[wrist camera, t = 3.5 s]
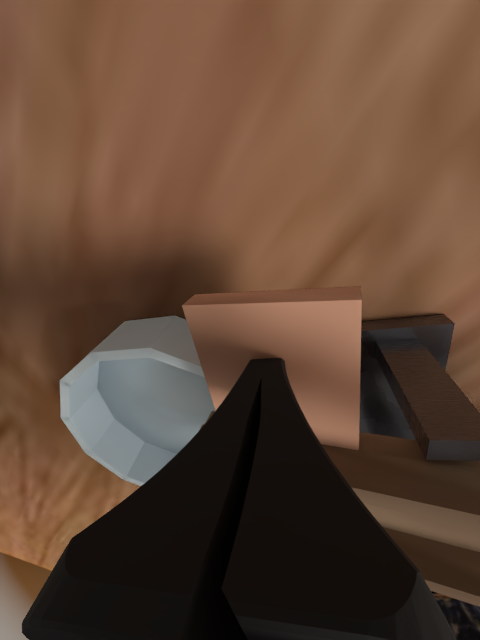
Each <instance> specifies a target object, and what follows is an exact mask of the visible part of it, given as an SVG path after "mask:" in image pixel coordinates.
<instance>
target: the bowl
mask: <svg viewBox="0 0 480 640" xmlns="http://www.w3.org/2000/svg"><path fill="white" fill-rule="evenodd" d="M60 407H61V419H62V420H63V422H64V423H65V425H66V426H67V428H68V429H69V430H70V432H71V433H72V435H73V436H74V438H75V439H76V440H77V442H78V443H79V445H80V446H81V448H82V449H83V450H84V452H85V453H86V454H87V455H89V456H90V457H92V458H93V459H94V460H96V461H97V462H99V463H100V464H102V465H103V466H104V467H106V468H107V469H109V470H110V471H112V472H113V473H114V474H116V475H117V476H119V477H120V478H122V479H123V480H125V481H128V482H131V483H134V484H137V485H139V486H142V485H143V484H144V483H146V482H147V481H148V480H149V479H150V478H151V477H153V476H154V475H155V474H156V473H157V472H158V471H160V470H161V469H162V468H163V467H164V466H165V465H166V464H167V463H168V462H169V461H170V460H171V459H172V458H173V457H174V456H175V455H176V454H177V453H178V452H179V451H180V450H181V449H182V448H183V447H184V446H185V445H186V444H187V443H188V442H189V441H190V440H191V439H192V438H193V437H194V436H195V435H196V434H197V433H198V431H199V430H200V428H201V426H202V424H205V422H206V421H207V419H208V417H209V415H210V413H211V411H216V410H215V407H214V404H213V401H212V398H211V395H210V392H209V389H208V386H207V382H206V379H205V376H204V373H203V370H202V367H201V364H200V361H199V358H198V354H197V351H196V348H195V345H194V342H193V339H192V336H191V333H190V329H189V326H188V323H187V320H186V319H183V318H180V317H178V316H166V317H157V318H148V319H139V320H130V321H124V322H123V323H122V324H121V325H120V326H119V327H118V328H117V329H115V330H114V331H113V332H112V333H111V334H110V335H109V336H108V337H106V338H105V339H104V340H103V341H102V342H101V343H100V344H99V345H98V346H96V347H95V348H94V349H93V350H92V351H91V352H90V353H89V354H88V355H87V356H86V357H85V358H84V359H83V360H82V361H81V362H79V363H78V364H77V365H76V366H75V367H74V368H73V369H72V370H71V371H70V372H68V373H67V374H66V375H65V376H64V377H63V378H62V379H61V380H60Z"/></svg>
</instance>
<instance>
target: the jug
mask: <svg viewBox="0 0 480 640" xmlns="http://www.w3.org/2000/svg"><path fill="white" fill-rule="evenodd" d="M433 596H434V597H435V599H436V601H437V603H438V605H439V606H440V608H441V610H442V612H443V614H444V616H445V618H446V619H447V621H448V623H449V625H450V627H451V629H452V631H453V633H454V635H455V638H456V640H480V607H479V606H476V605H473V604H470V603H467V602H464V601H461V600H457V599H454V598H451V597H448V596H445V595H442V594H439V593H433Z"/></svg>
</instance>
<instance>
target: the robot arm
mask: <svg viewBox="0 0 480 640" xmlns="http://www.w3.org/2000/svg"><path fill="white" fill-rule="evenodd" d="M22 633H23V634H24V635H25V636H26V638H28V639H29V640H456V638H455V635H454V633H453V631H452V629H451V627H450V625H449V623H448V621H447V619H446V618H445V616H444V614H443V612H442V610H441V608H440V606H439V605H438V603H437V601H436V599H435V597H434V596H433V594H432V592H431V591H430V589H429V587H428V585H427V584H426V582H425V580H424V578H423V577H422V575H421V573H420V571H419V570H418V568H417V567H416V566H415V565H414V563H413V562H412V561H411V560H410V559H409V558H408V557H407V555H406V554H405V553H404V552H403V551H402V550H401V548H400V547H399V546H398V545H397V544H396V543H395V541H394V540H393V539H392V538H391V537H390V535H389V534H388V533H387V532H386V531H385V530H384V528H383V527H382V526H381V525H380V524H379V522H378V521H377V520H376V519H375V517H374V516H373V515H372V514H371V512H370V511H369V510H368V509H367V507H366V506H365V505H364V504H363V502H362V501H361V500H360V498H359V497H358V496H357V495H356V493H355V492H354V491H353V489H352V488H351V486H350V485H349V484H348V482H347V481H346V480H345V478H344V477H343V475H342V474H341V473H340V471H339V470H338V469H337V467H336V466H335V465H334V463H333V462H332V460H331V459H330V457H329V456H328V454H327V453H326V451H325V450H324V448H323V447H322V445H321V443H320V442H319V440H318V438H317V437H316V435H315V434H314V432H313V430H312V428H311V427H310V425H309V423H308V421H307V419H306V418H305V416H304V414H303V412H302V410H301V408H300V406H299V404H298V402H297V399H296V397H295V395H294V392H293V390H292V388H291V385H290V382H289V379H288V376H287V373H286V366H285V360H283V359H282V358H266V359H251V360H250V361H249V362H248V364H247V365H246V367H245V369H244V370H243V372H242V374H241V375H240V377H239V378H238V380H237V382H236V383H235V385H234V386H233V388H232V389H231V390H230V392H229V393H228V395H227V396H226V398H225V399H224V400H223V402H222V403H221V404H220V406H219V407H218V408H217V410H216V411H215V412H214V413H213V415H212V416H211V417H210V419H209V420H208V421H207V422H206V423H205V425H204V426H203V427H202V428H201V429H200V430H199V432H198V433H197V434H196V435H195V436H194V437H193V438H192V439H191V440H190V441H189V442H188V443H187V444H186V445H185V446H184V447H183V448H182V449H181V450H180V451H179V452H178V453H177V454H176V455H175V456H174V457H173V458H172V459H171V460H170V461H169V462H168V463H167V464H166V465H165V466H164V467H163V468H162V469H161V470H160V471H158V472H157V473H156V474H155V475H154V476H153V477H151V478H150V479H149V480H148V481H147V482H146V483H144V484H143V485H142V486H141V487H140V488H138V489H137V490H136V491H135V492H134V493H132V494H131V495H130V496H129V497H127V498H126V499H125V500H124V501H122V502H121V503H120V504H118V505H117V506H116V507H114V508H113V509H112V510H110V511H109V512H108V513H106V514H105V515H103V516H102V517H101V518H99V519H98V520H97V521H95V522H94V523H93V524H91V525H90V526H88V527H87V528H86V529H84V530H83V531H82V532H80V533H79V534H77V535H76V536H74V537H73V538H72V539H71V541H70V542H69V544H68V545H67V547H66V549H65V550H64V552H63V554H62V555H61V557H60V559H59V560H58V562H57V564H56V565H55V567H54V569H53V570H52V572H51V574H50V576H49V577H48V579H47V581H46V582H45V584H44V586H43V588H42V589H41V591H40V593H39V594H38V596H37V598H36V600H35V601H34V603H33V605H32V606H31V608H30V610H29V612H28V613H27V615H26V617H25V618H24V620H23V623H22Z"/></svg>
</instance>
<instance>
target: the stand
mask: <svg viewBox="0 0 480 640" xmlns="http://www.w3.org/2000/svg"><path fill="white" fill-rule="evenodd" d="M453 329H454V323H453V322H452V321H451V320H450V319H449V318H448V317H446V316H445V315H444V314H440V315H429V316H418V317H407V318H395V319H384V320H373V321H362V322H361V367H360V420H359V432H363V433H370V434H377V435H384V436H391V437H398V438H405V439H412V440H417V442H418V444H419V446H420V449H421V451H422V453H423V455H424V457H425V459H426V460H465V461H480V413H479V412H478V411H477V409H476V408H475V407H474V406H473V404H472V403H471V402H470V401H469V400H468V398H467V397H466V396H465V395H464V393H463V392H462V391H461V390H460V389H459V387H458V386H457V385H456V384H455V382H454V381H453V380H452V379H451V378H450V376H449V375H448V374H447V373H446V371H445V368H446V363H447V359H448V354H449V349H450V344H451V339H452V334H453Z"/></svg>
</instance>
